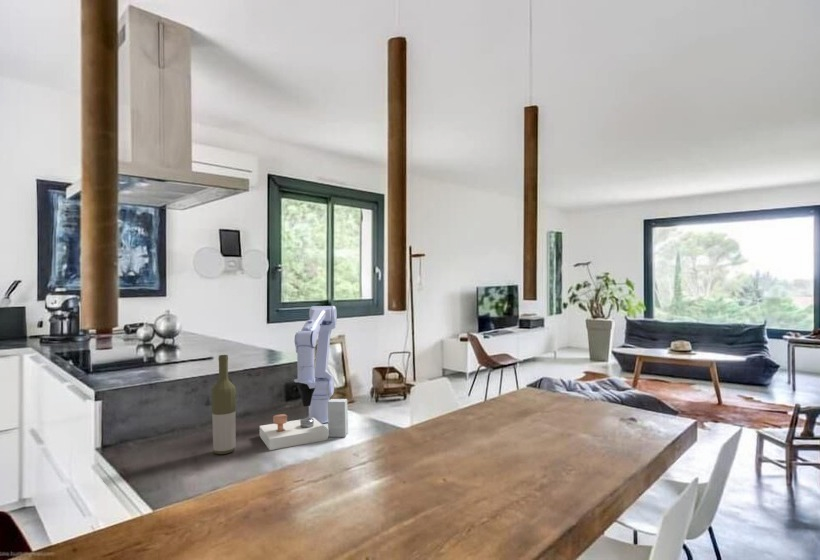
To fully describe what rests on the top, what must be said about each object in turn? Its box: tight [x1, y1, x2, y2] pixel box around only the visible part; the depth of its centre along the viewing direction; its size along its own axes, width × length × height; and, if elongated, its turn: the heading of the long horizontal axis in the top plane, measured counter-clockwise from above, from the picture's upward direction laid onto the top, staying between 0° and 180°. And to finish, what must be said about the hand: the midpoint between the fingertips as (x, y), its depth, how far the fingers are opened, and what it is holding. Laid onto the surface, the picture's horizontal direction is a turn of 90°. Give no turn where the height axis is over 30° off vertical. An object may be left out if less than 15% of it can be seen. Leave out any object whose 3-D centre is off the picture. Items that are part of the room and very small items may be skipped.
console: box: [259, 417, 329, 451], centre depth 156 cm, size 16×19×4 cm
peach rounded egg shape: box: [272, 413, 288, 432], centre depth 153 cm, size 4×4×5 cm
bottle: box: [211, 354, 237, 455], centre depth 144 cm, size 7×7×30 cm
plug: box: [299, 417, 314, 428], centre depth 157 cm, size 4×4×5 cm
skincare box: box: [327, 398, 349, 438], centre depth 158 cm, size 6×4×12 cm
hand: (306, 405), depth 157 cm, fingers closed
